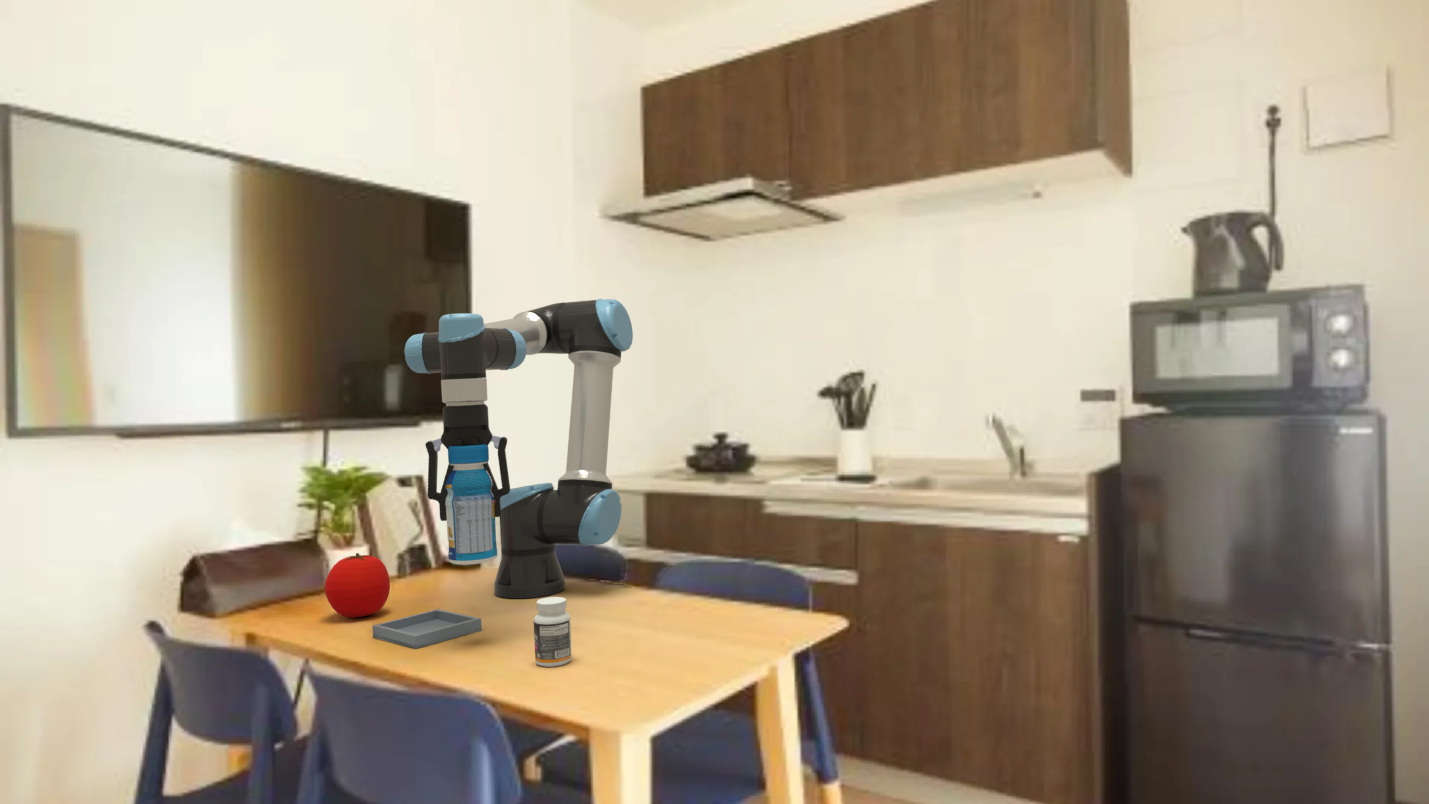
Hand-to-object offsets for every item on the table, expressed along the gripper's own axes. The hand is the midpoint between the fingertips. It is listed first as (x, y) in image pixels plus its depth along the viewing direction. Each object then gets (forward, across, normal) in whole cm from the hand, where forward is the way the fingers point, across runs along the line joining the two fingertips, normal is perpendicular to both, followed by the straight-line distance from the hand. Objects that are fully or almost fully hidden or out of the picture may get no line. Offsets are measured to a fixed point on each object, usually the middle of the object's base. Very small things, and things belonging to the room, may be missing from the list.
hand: (471, 537), depth 151 cm
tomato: (+19, +25, -28) cm, 42 cm away
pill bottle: (+19, -13, +15) cm, 27 cm away
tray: (+19, +10, -10) cm, 23 cm away
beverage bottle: (+4, 0, 0) cm, 4 cm away
